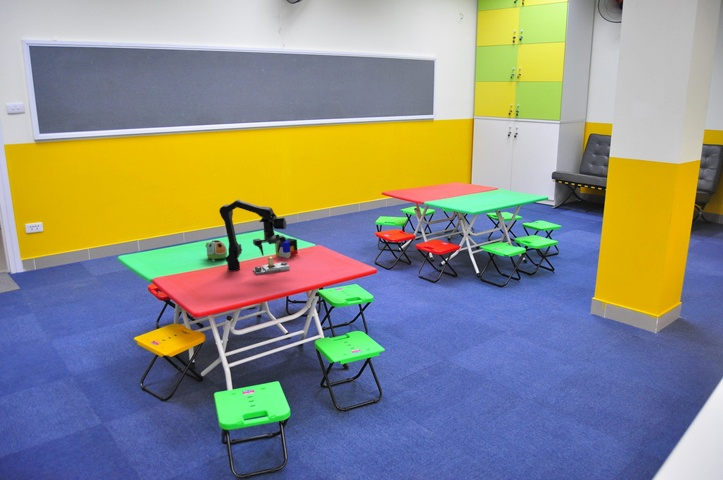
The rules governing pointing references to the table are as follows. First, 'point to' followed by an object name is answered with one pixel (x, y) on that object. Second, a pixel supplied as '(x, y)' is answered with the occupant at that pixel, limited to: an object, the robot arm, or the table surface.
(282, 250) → the puzzle toy
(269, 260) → the brass pin
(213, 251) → the turtle holder
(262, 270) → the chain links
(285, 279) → the table surface
